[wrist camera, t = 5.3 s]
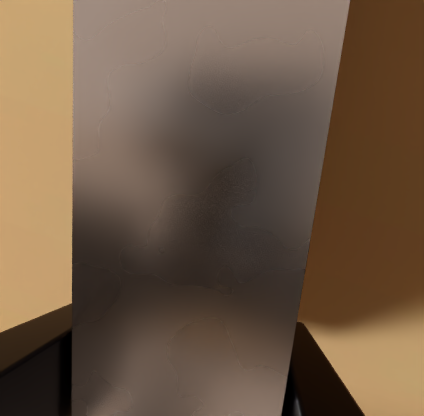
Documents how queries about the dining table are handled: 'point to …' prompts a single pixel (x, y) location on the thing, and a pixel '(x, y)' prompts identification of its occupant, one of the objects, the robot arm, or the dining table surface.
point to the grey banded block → (194, 198)
